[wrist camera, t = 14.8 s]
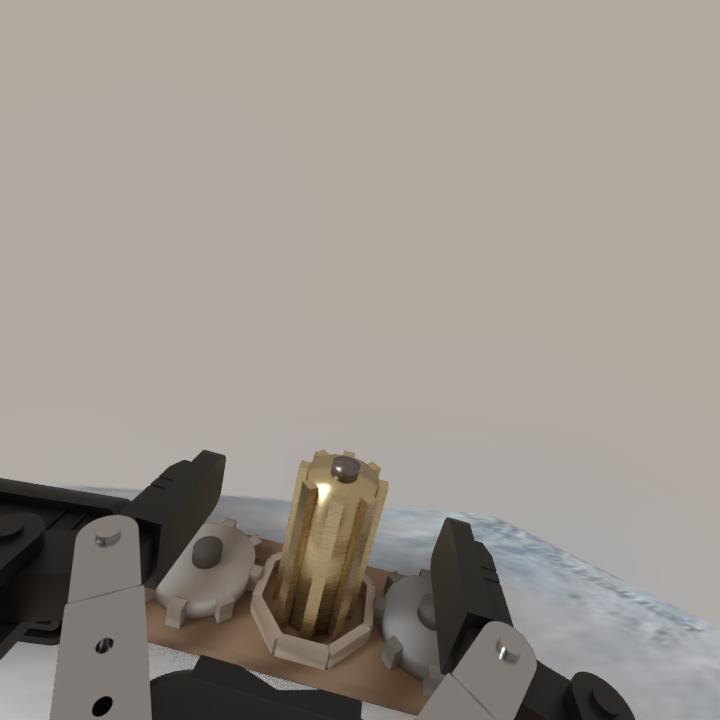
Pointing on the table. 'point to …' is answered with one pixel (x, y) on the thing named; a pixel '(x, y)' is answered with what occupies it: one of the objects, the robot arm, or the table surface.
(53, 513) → the end cap
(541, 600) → the table surface
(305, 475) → the pinion
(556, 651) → the table surface
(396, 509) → the table surface
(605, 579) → the table surface
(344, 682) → the gear board
